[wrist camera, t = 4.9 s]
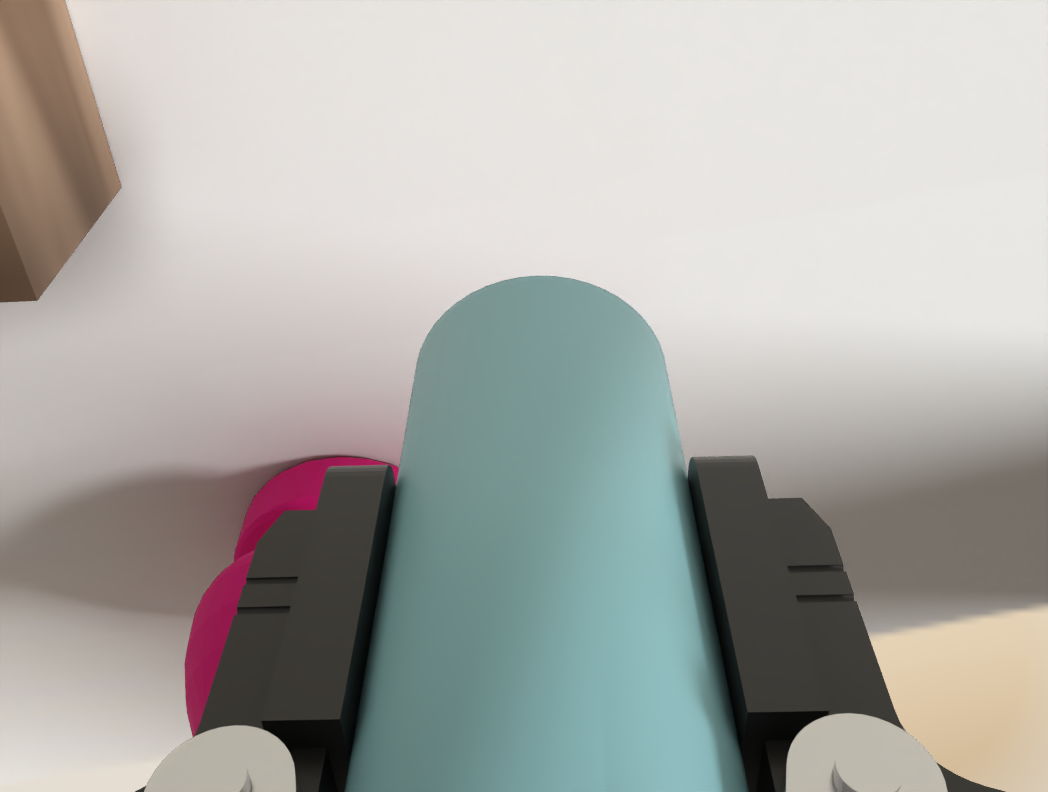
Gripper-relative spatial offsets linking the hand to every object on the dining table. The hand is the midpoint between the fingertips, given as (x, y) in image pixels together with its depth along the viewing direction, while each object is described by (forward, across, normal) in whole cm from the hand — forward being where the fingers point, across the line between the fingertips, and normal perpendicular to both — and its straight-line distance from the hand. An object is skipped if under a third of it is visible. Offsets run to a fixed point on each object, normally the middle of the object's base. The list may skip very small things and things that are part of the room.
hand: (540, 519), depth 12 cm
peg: (+3, 0, 0) cm, 3 cm away
